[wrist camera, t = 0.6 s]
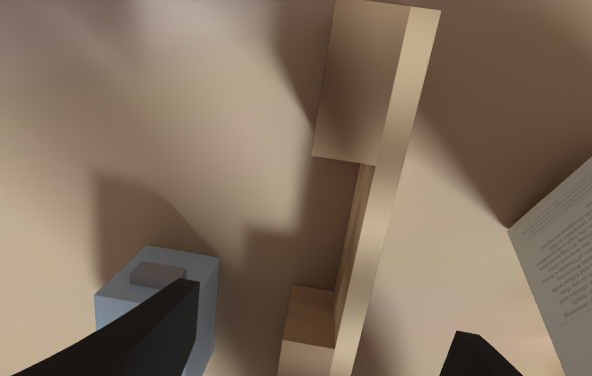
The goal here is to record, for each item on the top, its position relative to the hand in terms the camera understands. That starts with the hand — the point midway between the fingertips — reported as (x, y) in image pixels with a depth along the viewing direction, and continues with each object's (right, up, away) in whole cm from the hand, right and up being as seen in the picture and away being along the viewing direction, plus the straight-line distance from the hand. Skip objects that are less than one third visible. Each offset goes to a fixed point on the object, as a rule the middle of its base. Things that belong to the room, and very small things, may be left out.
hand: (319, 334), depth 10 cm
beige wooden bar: (+1, +1, +10) cm, 10 cm away
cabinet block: (-8, -3, +12) cm, 15 cm away
